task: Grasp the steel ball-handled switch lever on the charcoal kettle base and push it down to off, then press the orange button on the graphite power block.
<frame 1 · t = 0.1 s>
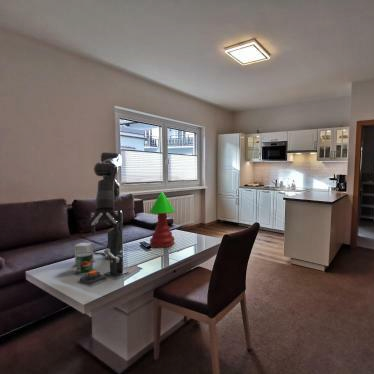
hand: (104, 232, 111), 31 cm above the table, tool tilted 20°, fingers open, 8 cm apart
canned tomato: (84, 272, 139), on the table
power button: (92, 273, 128), point 4 cm above the table, slide at 0.1 cm
switch: (111, 255, 138), point 11 cm above the table, hinge at 25.0°
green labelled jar: (84, 263, 152), on the table
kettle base: (116, 274, 137), on the table
table lamp: (162, 244, 196), on the table
power block: (93, 280, 128), on the table
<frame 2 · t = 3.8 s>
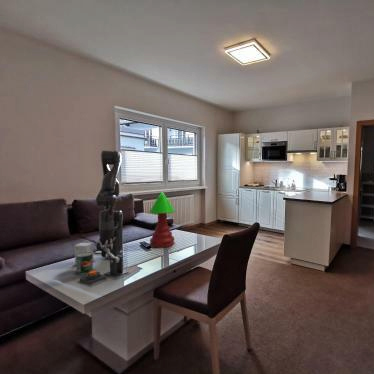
hand: (107, 255, 139), 10 cm above the table, tool pointing down, fingers closed on switch, 3 cm apart
switch: (111, 255, 138), point 11 cm above the table, hinge at 25.0°, touching gripper
everything else where it was.
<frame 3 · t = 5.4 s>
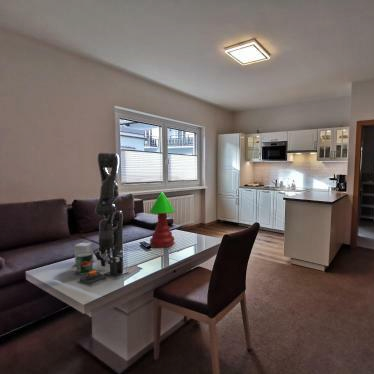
hand: (106, 265, 140), 4 cm above the table, tool pointing down, fingers closed on switch, 3 cm apart
switch: (111, 259, 138), point 8 cm above the table, hinge at -10.0°, touching gripper
everything else where it was.
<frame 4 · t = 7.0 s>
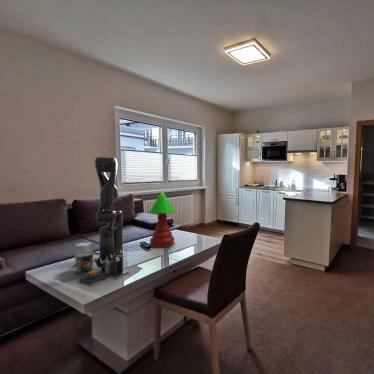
hand: (107, 271, 140), 0 cm above the table, tool pointing down, fingers open, 4 cm apart
switch: (111, 262, 138), point 7 cm above the table, hinge at -30.6°
everything else where it was.
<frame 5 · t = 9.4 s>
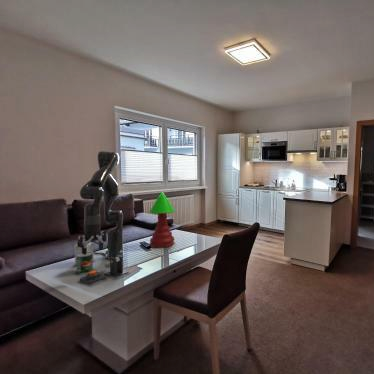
hand: (92, 251, 127), 16 cm above the table, tool pointing down, fingers open, 8 cm apart
nothing on the table moved.
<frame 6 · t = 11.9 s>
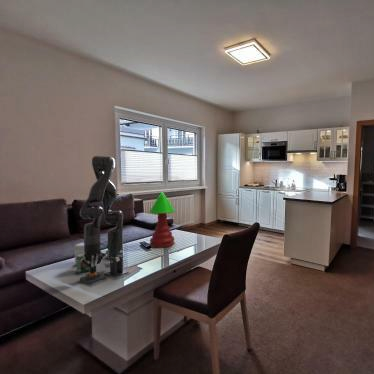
hand: (92, 272, 128), 5 cm above the table, tool pointing down, fingers closed
power button: (93, 274, 128), point 4 cm above the table, slide at -0.6 cm, touching gripper
everything else where it was.
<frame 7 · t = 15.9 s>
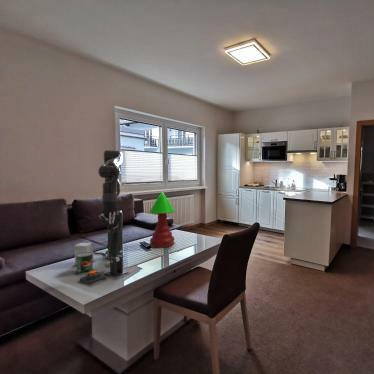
hand: (110, 230, 134), 27 cm above the table, tool pointing down, fingers closed
power button: (92, 273, 128), point 4 cm above the table, slide at 0.1 cm
everything else where it was.
at the end: switch at -31° (first picture: +25°); power button pushed in 1.1 cm at the most during the clip, back to where it started at the end; power button slide at 0.1 cm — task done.
